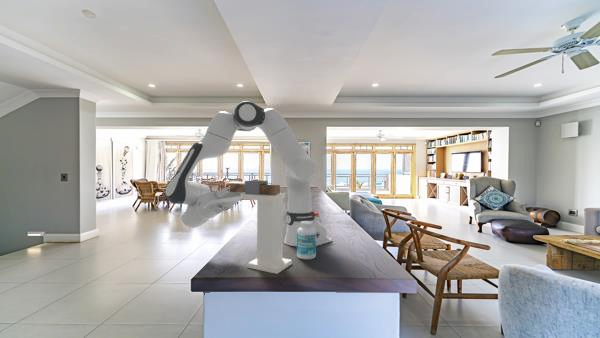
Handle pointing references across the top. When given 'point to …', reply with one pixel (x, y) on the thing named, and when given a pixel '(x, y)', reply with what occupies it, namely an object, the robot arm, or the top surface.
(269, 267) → the post
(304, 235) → the pill bottle
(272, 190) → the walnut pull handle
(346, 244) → the top surface
